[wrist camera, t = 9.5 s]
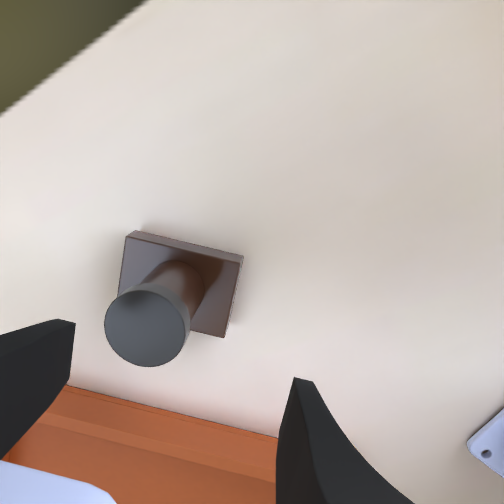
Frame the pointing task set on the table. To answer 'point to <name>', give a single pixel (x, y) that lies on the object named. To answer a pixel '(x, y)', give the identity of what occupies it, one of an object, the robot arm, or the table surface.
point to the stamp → (169, 297)
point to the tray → (148, 452)
